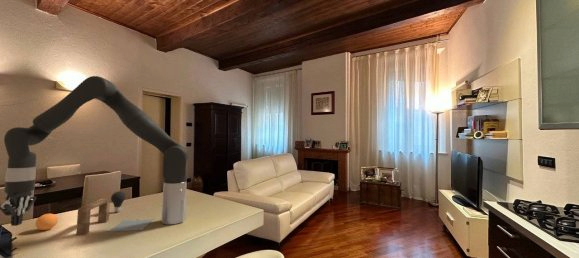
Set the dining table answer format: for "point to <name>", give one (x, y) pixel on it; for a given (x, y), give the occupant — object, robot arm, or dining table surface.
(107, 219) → the bridge
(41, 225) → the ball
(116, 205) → the light bulb
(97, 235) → the dining table surface
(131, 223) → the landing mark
